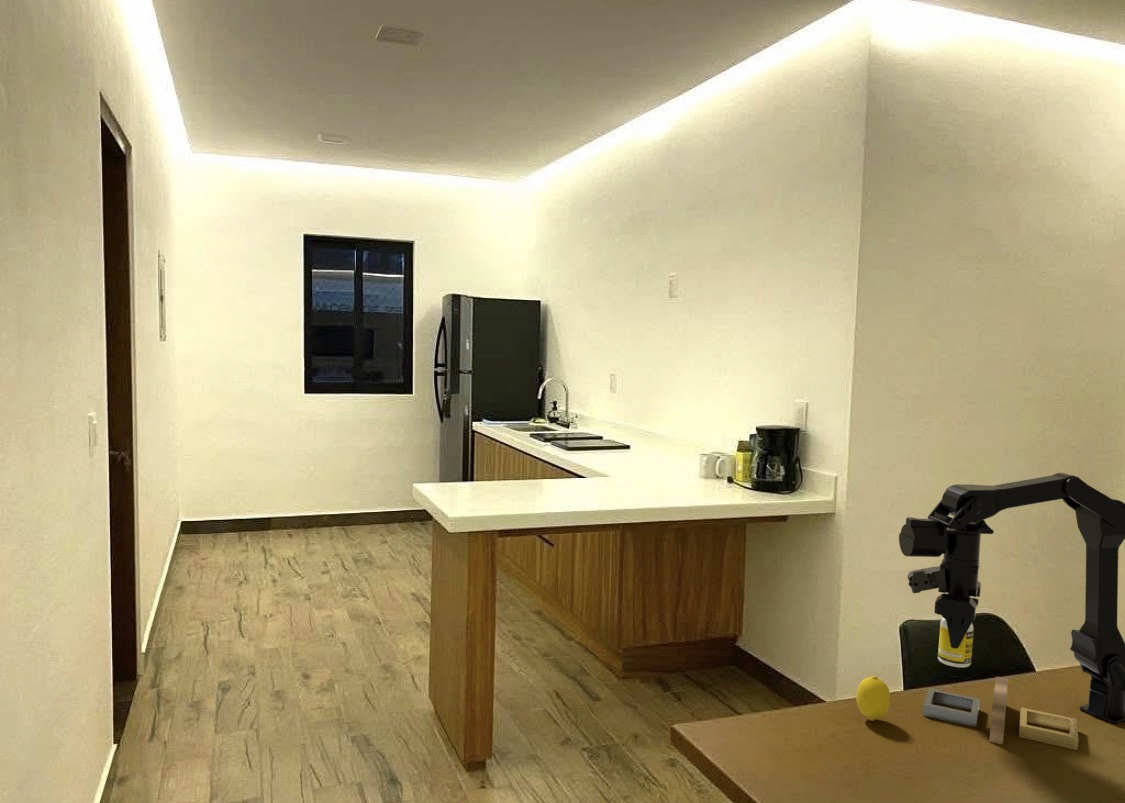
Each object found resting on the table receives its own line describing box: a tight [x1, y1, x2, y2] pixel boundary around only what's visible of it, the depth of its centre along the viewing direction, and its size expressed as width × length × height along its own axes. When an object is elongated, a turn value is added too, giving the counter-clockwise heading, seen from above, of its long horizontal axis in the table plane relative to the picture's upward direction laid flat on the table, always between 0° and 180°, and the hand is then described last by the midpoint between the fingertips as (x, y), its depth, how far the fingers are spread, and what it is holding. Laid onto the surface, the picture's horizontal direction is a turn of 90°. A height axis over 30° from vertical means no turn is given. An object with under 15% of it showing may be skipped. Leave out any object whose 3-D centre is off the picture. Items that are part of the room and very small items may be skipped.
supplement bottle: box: [937, 617, 974, 668], centre depth 151 cm, size 5×5×10 cm
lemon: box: [855, 675, 891, 722], centre depth 148 cm, size 6×6×8 cm
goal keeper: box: [1018, 707, 1079, 751], centre depth 145 cm, size 8×8×2 cm
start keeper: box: [922, 688, 981, 728], centre depth 152 cm, size 8×8×2 cm
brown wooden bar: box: [989, 676, 1009, 746], centre depth 149 cm, size 18×2×5 cm, turn 151°
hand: (955, 643), depth 152 cm, fingers closed on supplement bottle, 5 cm apart
